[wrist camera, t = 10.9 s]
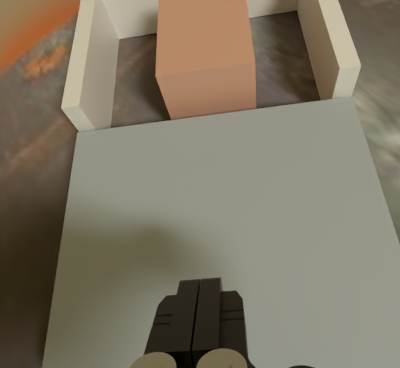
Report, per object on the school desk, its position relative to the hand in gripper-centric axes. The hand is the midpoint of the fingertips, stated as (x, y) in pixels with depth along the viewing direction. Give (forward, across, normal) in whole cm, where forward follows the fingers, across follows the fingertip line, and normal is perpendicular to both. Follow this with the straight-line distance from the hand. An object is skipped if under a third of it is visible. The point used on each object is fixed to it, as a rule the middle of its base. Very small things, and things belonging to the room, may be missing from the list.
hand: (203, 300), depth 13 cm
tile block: (+13, 0, -6) cm, 15 cm away
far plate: (+9, 0, +2) cm, 9 cm away
